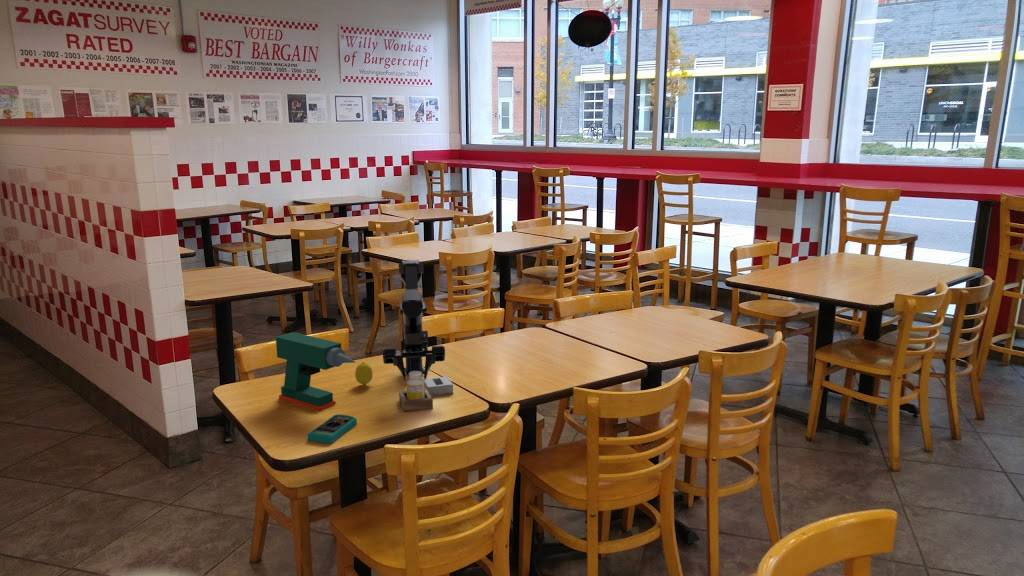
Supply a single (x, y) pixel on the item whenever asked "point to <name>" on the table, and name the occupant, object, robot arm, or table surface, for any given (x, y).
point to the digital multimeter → (332, 429)
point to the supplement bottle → (415, 386)
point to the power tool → (307, 368)
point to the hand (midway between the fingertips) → (415, 379)
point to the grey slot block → (438, 385)
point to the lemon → (363, 373)
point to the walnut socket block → (415, 402)
